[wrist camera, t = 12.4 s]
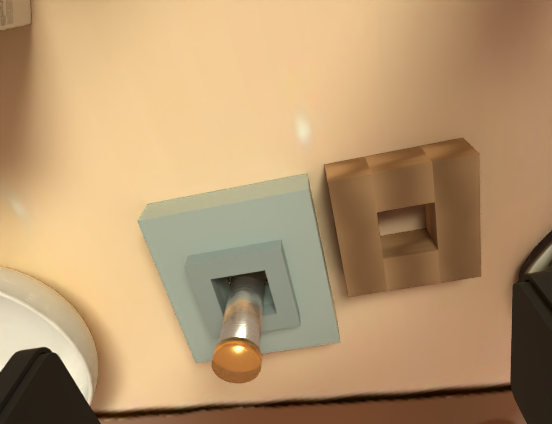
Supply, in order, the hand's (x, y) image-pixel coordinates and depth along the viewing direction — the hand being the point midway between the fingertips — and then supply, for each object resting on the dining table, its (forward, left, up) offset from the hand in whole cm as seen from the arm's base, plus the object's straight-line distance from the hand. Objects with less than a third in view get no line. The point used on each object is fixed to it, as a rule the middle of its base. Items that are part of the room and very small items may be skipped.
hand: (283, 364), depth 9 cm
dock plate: (+7, +16, -28) cm, 33 cm away
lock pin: (+7, +16, -28) cm, 33 cm away
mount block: (-7, +13, -28) cm, 32 cm away
